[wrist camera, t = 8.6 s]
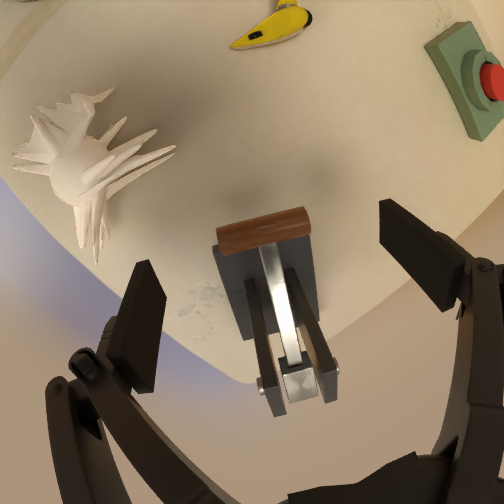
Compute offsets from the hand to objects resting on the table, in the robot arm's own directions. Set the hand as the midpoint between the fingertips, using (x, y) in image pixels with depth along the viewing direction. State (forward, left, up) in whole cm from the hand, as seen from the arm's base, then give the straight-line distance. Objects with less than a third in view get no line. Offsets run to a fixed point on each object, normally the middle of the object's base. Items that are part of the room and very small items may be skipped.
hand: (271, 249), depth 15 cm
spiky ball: (-11, -5, -11) cm, 17 cm away
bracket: (+9, -5, -11) cm, 15 cm away
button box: (+6, +28, -11) cm, 30 cm away
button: (+6, +28, -7) cm, 29 cm away
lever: (+5, -3, -2) cm, 6 cm away
